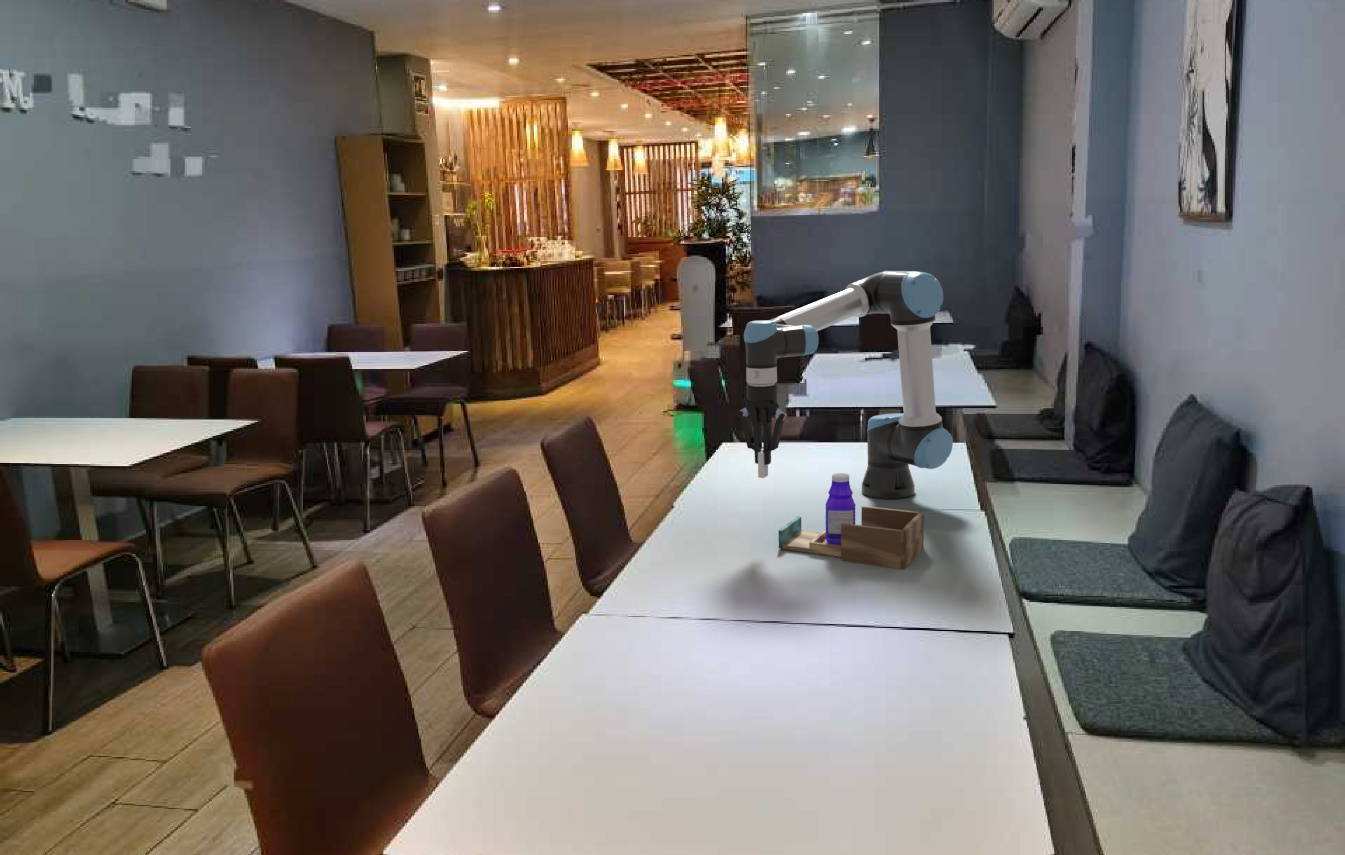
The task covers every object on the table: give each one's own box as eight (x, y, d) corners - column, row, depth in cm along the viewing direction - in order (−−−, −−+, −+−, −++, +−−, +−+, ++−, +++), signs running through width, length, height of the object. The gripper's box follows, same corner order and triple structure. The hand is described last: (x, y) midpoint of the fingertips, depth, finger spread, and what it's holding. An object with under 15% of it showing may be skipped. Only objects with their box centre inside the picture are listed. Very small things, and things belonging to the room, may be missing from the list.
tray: (797, 533, 248) (797, 516, 247) (878, 543, 238) (878, 525, 237) (778, 548, 238) (778, 530, 237) (862, 559, 228) (861, 541, 227)
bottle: (854, 539, 239) (854, 471, 235) (856, 547, 233) (856, 477, 229) (824, 540, 239) (824, 472, 236) (826, 547, 234) (825, 478, 230)
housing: (862, 540, 242) (862, 505, 240) (923, 547, 234) (923, 512, 233) (841, 560, 228) (840, 524, 226) (904, 569, 221) (904, 531, 219)
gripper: (731, 384, 238) (733, 477, 243) (780, 387, 231) (781, 482, 236) (744, 380, 244) (745, 470, 249) (792, 382, 238) (793, 475, 243)
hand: (763, 476), depth 243 cm, fingers closed
